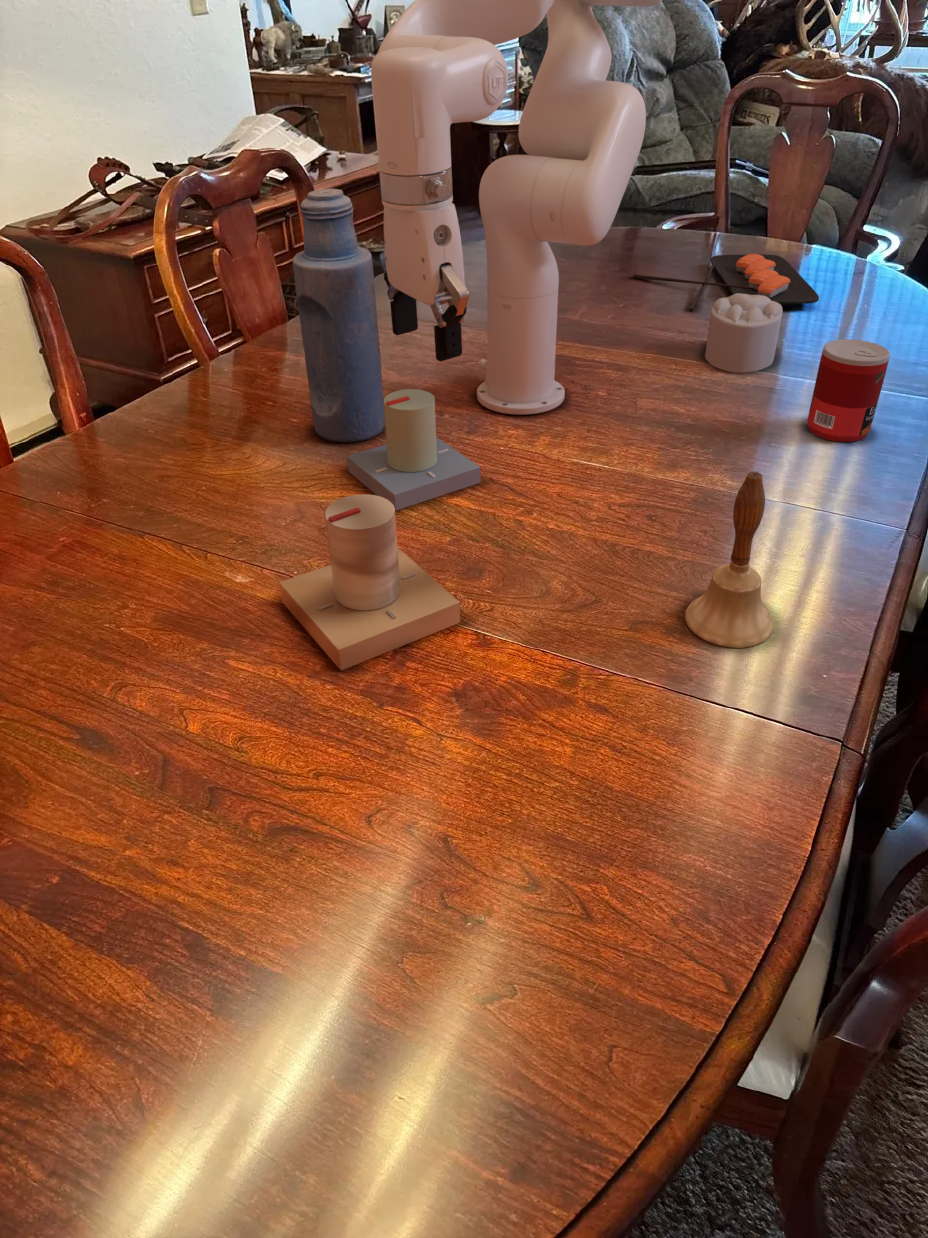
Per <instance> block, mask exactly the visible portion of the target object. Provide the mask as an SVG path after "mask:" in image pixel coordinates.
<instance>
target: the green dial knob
mask: <svg viewBox="0 0 928 1238" xmlns="http://www.w3.org/2000/svg"><path fill="white" fill-rule="evenodd" d="M435 399H436V398H435V396H434V394H433V393H431V392H429V391H427V390H423V389H416V388H412V389H411V388H407V389H405V388H404V389H398V390H395V391H392V392H390V393H388V394H387V395H385V397H384V414H385V427H384V429H385V439H386V444H387V455H388V464H389V465H390V466H391V467H392V468H393V469H395V470H398V471H403V472H419V471H423V470H427V469H429V468H431V467H433V466H434V465H435V464H436V462H437V445H436V437H437V423H436V422H437V421H436V420H437V419H436V400H435Z"/></svg>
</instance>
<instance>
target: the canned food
mask: <svg viewBox="0 0 928 1238" xmlns="http://www.w3.org/2000/svg"><path fill="white" fill-rule="evenodd" d="M890 356H891V353H890V350H889V349H888V348H886V347H885V346H883V345H880V344H878V343H876V342H871V341H867V340H862V339H836V340H832V341H831V340H830V341H828V342H827V343H825V344H824V345H823V348H822V352H821V356H820V360H819V364H818V368H817V374H816V379H815V383H814V388H813V392H812V395H811V396H812V397H811V402H810V407H809V410H808V415H807V420H806V422H807V428H808V430H809V432H810V433H812V434H813V435H814V436H817V437H818V438H821V439H824V440H827V441H832V442H838V443H839V442H841V443H851V442H858V441H861V440H863V439H864V438H866V437H867V435H868V434H869V433H870V431H871V429H872V425H873V422H874V418H875V414H876V410H877V407H878V403H879V398H880V395H881V392H882V388H883V384H884V381H885V378H886V373H887V369H888V365H889V362H890Z"/></svg>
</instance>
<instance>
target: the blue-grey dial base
mask: <svg viewBox="0 0 928 1238" xmlns="http://www.w3.org/2000/svg"><path fill="white" fill-rule="evenodd" d="M436 445H437V462H436V464H435V465H434V466H433V467H431V468H429V469H427V470H423V471H419V472H403V471H398V470H395V469H393V468H392V467H391V466H390V465H389V464H388V455H387V443H386V444H382V445H379V446H376V447H372V448H369V449H366V450H363V451H362V450H361V451H358V452H355V453H352V454H349V455H346V464H347V471H348V473H349V474H350V475H352V476H353V477H354V478H355V479H356V480H358V482H360V483H361V484H362V485H364V486H365V487H366V488H367V489H368V490H370V492H372V493H373V495H376V496H380V497H383V498H385V499H387V500H389V501H390V502H391V503H392V504H393V505H394V508H395V512H397V511H399V510H403V509H405V508H409V507H412V506H414V505H417V504H421V503H424V502H426V501H430V500H433V499H435V498H439V497H442V496H445V495H449V494H452V493H454V492H458V491H460V490H463V489H466V488H470V487H472V486H475V485H478V484H481V481H482V480H481V466H480V465H478V464H477V463H475V462H474V461H473V460H471V459H470V458H469V457H467V456H465V455H464V454H462V453H461V452H459V451H457V450H456V449H455V448H453V447H452V446H450V444H447V443H446V442H445V441H443V440H442V439H440V438H438V436H436Z"/></svg>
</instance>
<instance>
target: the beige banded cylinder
mask: <svg viewBox="0 0 928 1238" xmlns="http://www.w3.org/2000/svg"><path fill="white" fill-rule="evenodd" d="M324 519H325V528H326V535H327V544H328V551H329V559H330V560H329V561H330V565H331V568H332V576H333V584H334V592H335V597H336V599H337V601H338V602H339V603H340V604H341V605H343V606H345V607H347V608H350V609H354V610H363V611H365V610H375V609H379V608H382V607H385V606H387V605H389V604H391V603H392V602H394V601H395V600H396V599H397V597H398V596H399V594H400V589H401V588H400V574H399V560H398V548H399V547H398V535H397V520H396V511H395V508H394V505H393V504H392V503H391V502H390V501H389V500H387V499H385V498H383V497H380V496H377V495H376V494H366V493H365V494H364V493H360V494H352V495H347V496H344V497H341V498H338V499H336V500H335V501H333V502H331V503H330V504H329V505H328V506H327V507H326V509H325V511H324Z"/></svg>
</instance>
